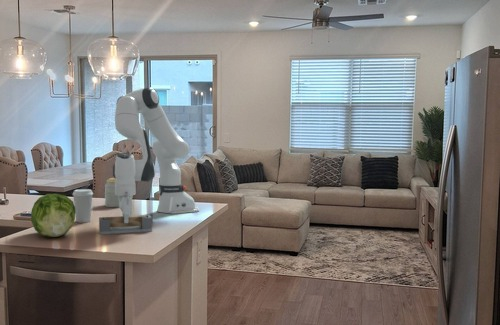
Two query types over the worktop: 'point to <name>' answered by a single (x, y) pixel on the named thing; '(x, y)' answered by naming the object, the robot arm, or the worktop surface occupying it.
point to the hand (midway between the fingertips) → (125, 221)
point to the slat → (120, 221)
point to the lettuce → (53, 215)
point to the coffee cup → (83, 204)
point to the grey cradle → (105, 227)
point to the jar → (111, 193)
